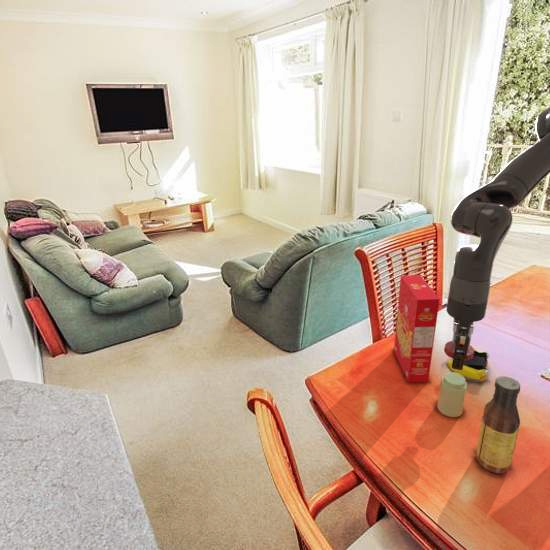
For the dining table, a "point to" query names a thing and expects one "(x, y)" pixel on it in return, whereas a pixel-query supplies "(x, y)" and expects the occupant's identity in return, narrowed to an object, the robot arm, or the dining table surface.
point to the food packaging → (415, 327)
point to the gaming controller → (473, 367)
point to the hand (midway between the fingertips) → (457, 360)
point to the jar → (452, 394)
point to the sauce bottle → (499, 427)
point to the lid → (450, 348)
